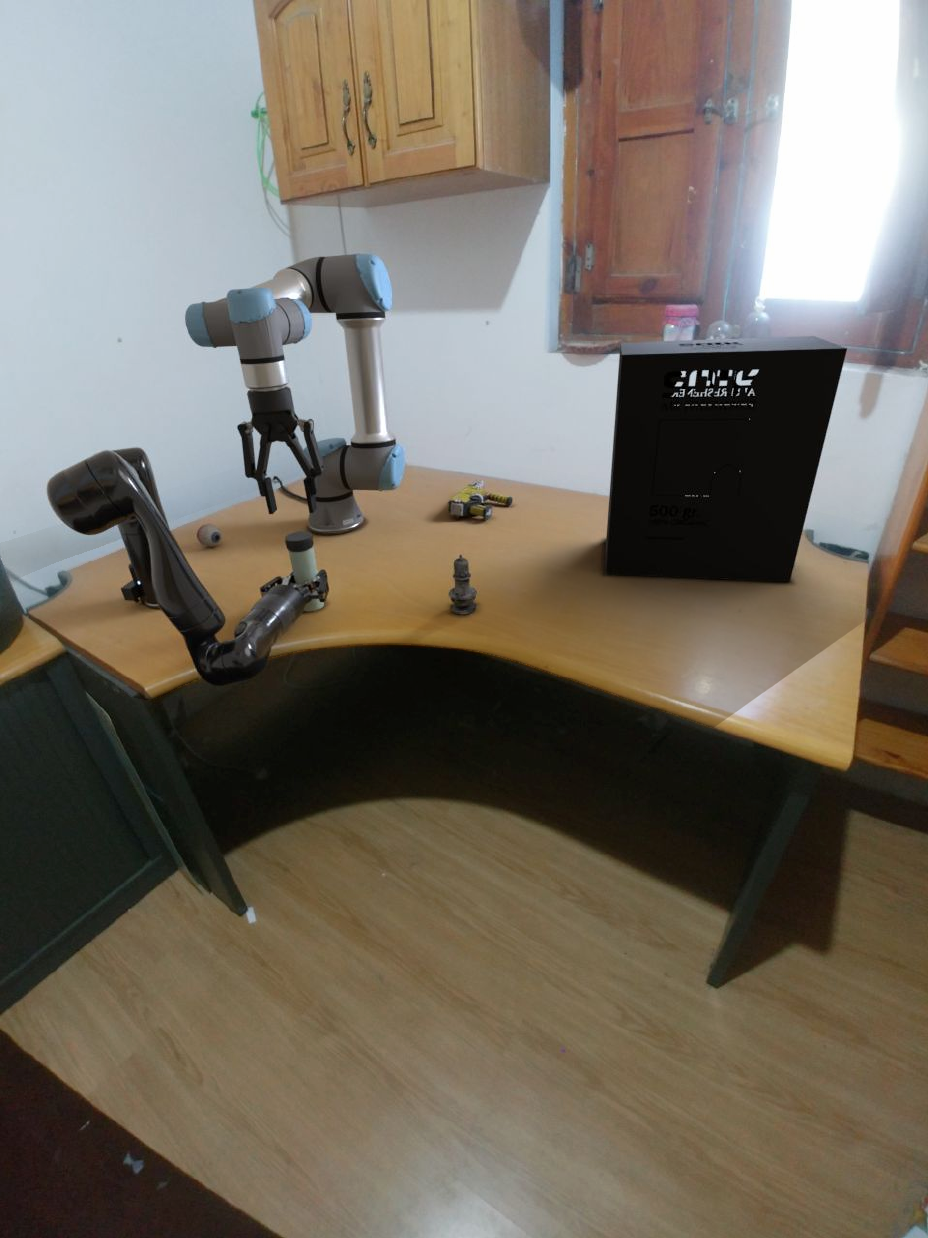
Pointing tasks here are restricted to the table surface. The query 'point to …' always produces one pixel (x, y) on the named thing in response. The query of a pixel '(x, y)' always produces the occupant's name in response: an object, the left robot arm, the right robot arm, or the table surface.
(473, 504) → the toy gun
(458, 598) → the dark grey turned figure
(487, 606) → the table surface
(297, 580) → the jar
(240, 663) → the left robot arm
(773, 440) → the cardboard box
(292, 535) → the lid
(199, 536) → the eyeball
